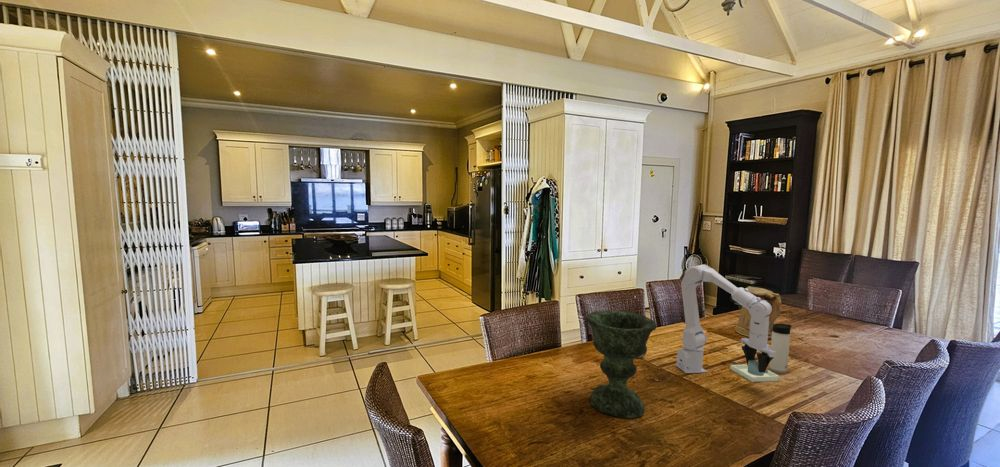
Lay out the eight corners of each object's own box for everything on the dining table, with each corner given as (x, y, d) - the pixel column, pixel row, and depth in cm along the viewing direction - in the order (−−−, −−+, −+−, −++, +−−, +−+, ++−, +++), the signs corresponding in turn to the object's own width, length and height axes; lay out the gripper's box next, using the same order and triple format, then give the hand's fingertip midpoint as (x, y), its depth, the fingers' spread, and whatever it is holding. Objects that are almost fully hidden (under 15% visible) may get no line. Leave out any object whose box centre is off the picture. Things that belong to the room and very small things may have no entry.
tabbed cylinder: (754, 376, 148) (755, 365, 148) (744, 370, 154) (745, 360, 153) (771, 375, 149) (772, 364, 149) (760, 369, 155) (761, 359, 154)
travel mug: (791, 374, 166) (794, 327, 165) (773, 372, 168) (776, 325, 166) (783, 368, 173) (787, 322, 171) (766, 366, 174) (770, 321, 172)
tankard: (752, 327, 229) (756, 284, 227) (793, 342, 207) (797, 294, 205) (727, 330, 224) (730, 285, 222) (765, 344, 202) (769, 295, 200)
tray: (751, 382, 158) (752, 377, 158) (730, 369, 170) (730, 365, 170) (779, 381, 160) (779, 376, 160) (755, 368, 172) (756, 363, 172)
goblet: (604, 426, 125) (608, 331, 123) (572, 392, 147) (575, 311, 144) (665, 417, 131) (670, 327, 128) (626, 386, 153) (629, 308, 150)
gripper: (784, 339, 144) (781, 376, 145) (753, 326, 158) (751, 360, 159) (766, 340, 142) (763, 377, 144) (737, 327, 157) (734, 361, 158)
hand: (756, 368), depth 151 cm, fingers closed on tabbed cylinder, 5 cm apart
